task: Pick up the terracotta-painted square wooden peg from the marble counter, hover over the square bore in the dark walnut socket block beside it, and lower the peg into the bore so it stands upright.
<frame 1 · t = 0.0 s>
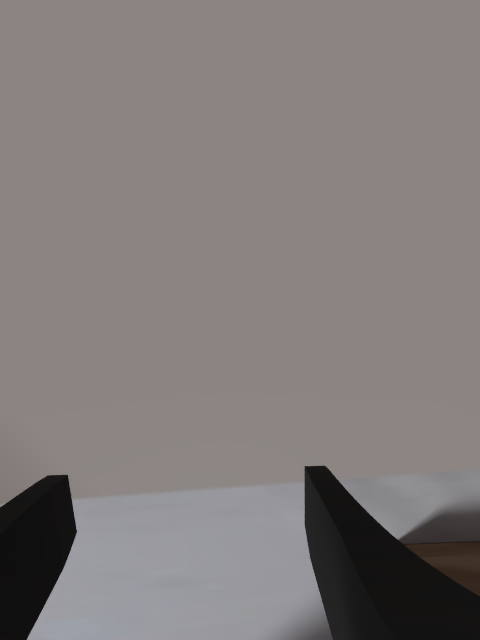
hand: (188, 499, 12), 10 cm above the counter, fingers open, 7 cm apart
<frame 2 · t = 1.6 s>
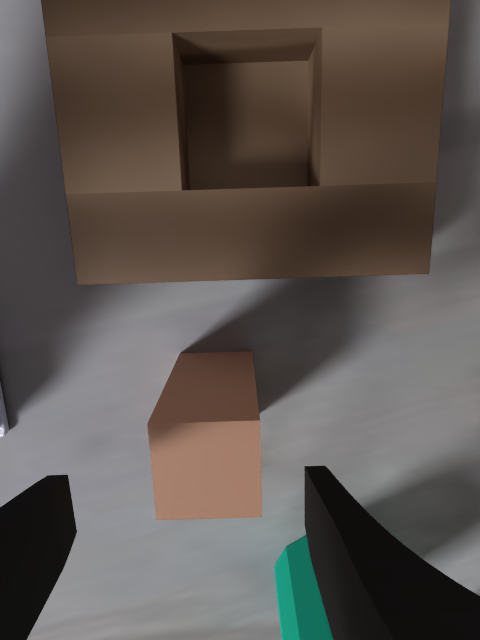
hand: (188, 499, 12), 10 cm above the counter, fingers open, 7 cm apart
socket block: (246, 135, 19), on the counter
candle: (319, 570, 25), on the counter
peg: (217, 385, 22), on the counter
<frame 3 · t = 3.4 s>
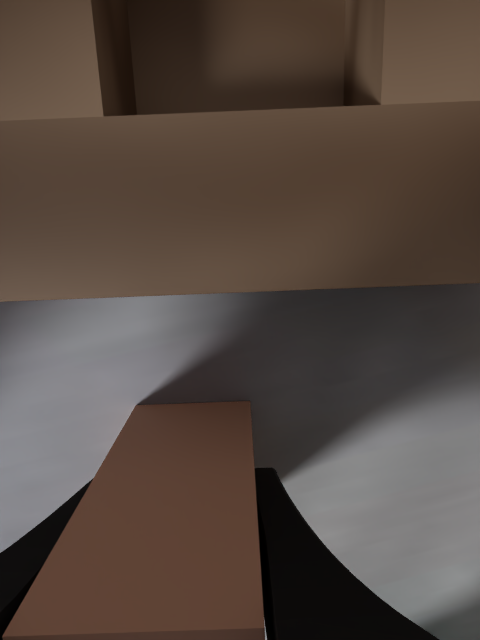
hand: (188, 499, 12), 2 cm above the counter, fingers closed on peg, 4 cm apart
socket block: (237, 43, 11), on the counter
peg: (196, 454, 14), on the counter, touching gripper
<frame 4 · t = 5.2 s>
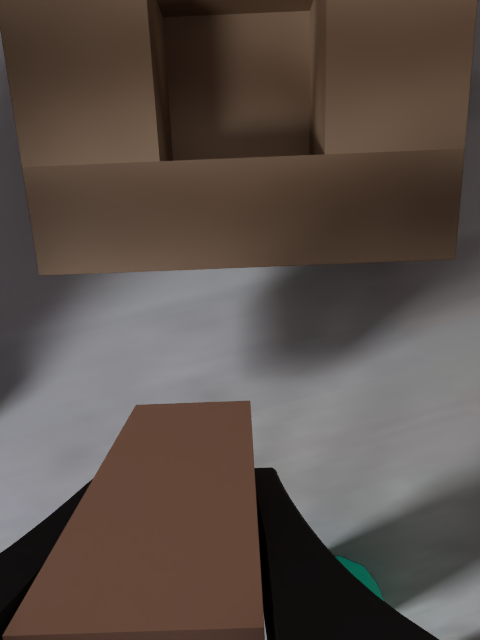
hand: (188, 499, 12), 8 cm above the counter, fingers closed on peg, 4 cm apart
socket block: (239, 103, 17), on the counter
candle: (326, 596, 23), on the counter
peg: (196, 453, 14), point 5 cm above the counter, touching gripper
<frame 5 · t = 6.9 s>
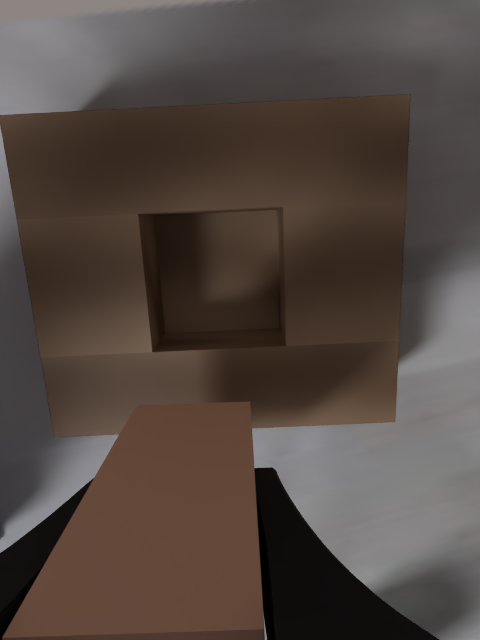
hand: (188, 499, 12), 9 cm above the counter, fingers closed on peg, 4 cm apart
socket block: (219, 271, 20), on the counter
peg: (196, 454, 14), point 7 cm above the counter, touching gripper
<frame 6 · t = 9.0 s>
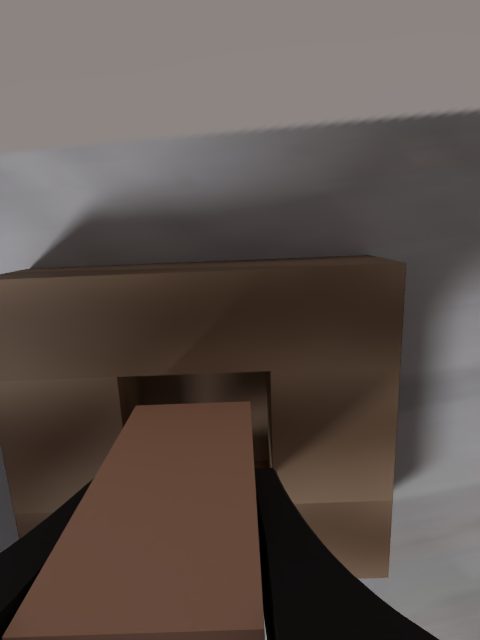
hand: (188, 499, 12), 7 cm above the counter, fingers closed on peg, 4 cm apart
socket block: (206, 398, 19), on the counter
peg: (196, 454, 14), point 5 cm above the counter, touching gripper
when the fingers open (5 cm above the counter, at t = 10.8 s): peg drops 1 cm, resting on socket block.
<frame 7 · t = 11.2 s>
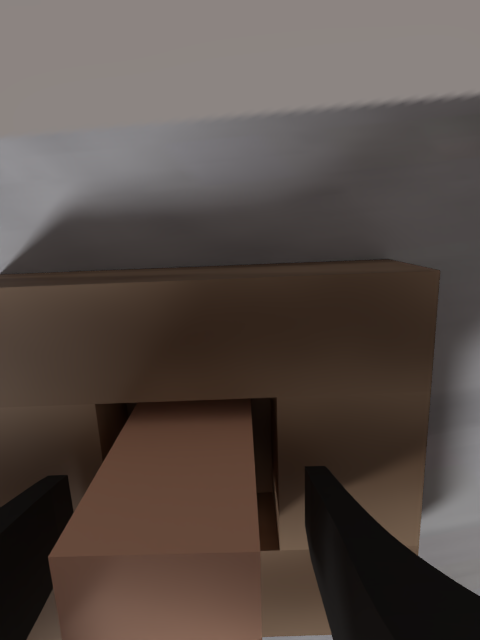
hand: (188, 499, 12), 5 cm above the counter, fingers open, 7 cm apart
socket block: (203, 421, 17), on the counter
peg: (200, 433, 16), point 1 cm above the counter, touching socket block
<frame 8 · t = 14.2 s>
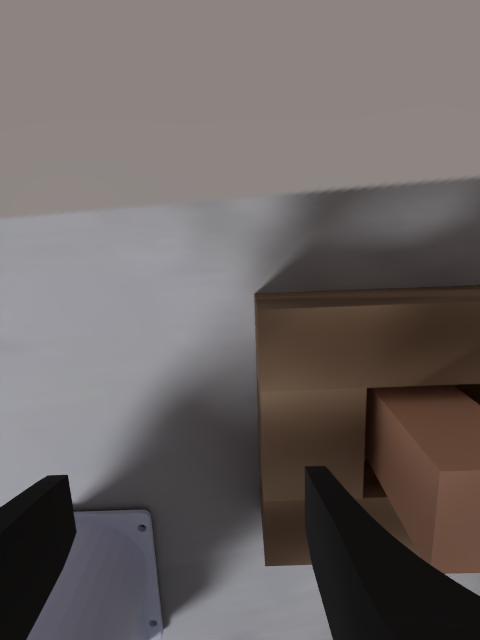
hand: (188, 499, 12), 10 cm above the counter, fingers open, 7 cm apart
socket block: (392, 404, 22), on the counter
peg: (399, 412, 21), point 1 cm above the counter, touching socket block
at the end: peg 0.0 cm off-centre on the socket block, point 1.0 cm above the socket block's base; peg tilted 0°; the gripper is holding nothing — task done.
